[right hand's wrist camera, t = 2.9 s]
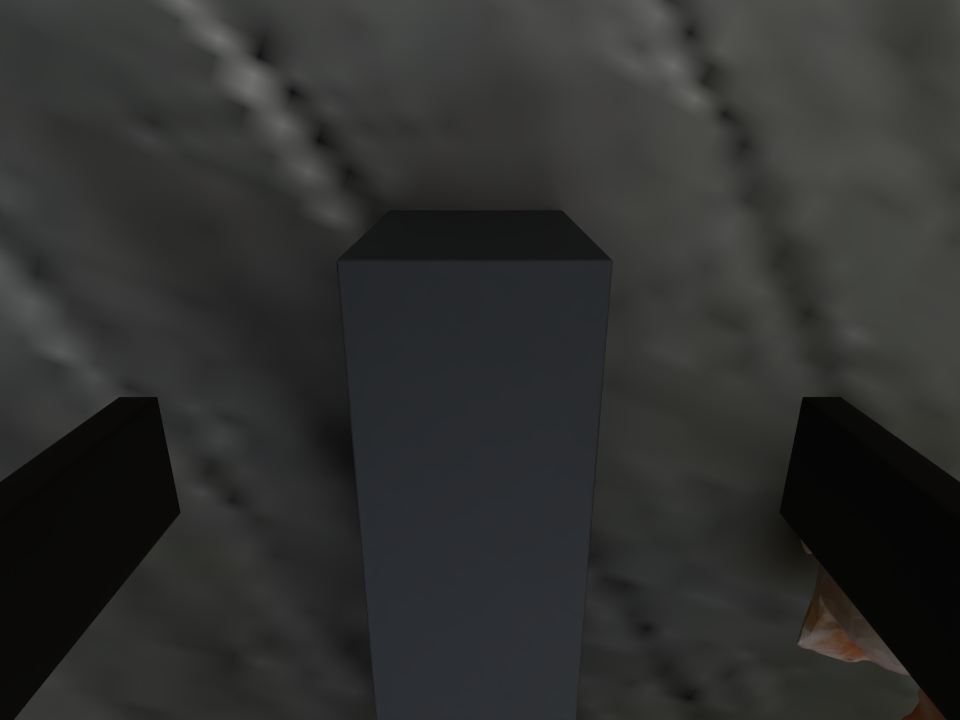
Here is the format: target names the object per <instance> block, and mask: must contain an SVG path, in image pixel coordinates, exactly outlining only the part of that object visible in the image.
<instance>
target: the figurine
mask: <svg viewBox="0 0 960 720" xmlns="http://www.w3.org/2000/svg"><path fill="white" fill-rule="evenodd" d="M801 542H802V545H803V548H804V550H805V552H806V553H808V554H812V552H811V551H810V550H809V549H808V547H807V546H806V545H805V544H804V542H803V541H802V540H801ZM798 646H800V647H803V648H806V649H811V650H814V651H815V652H817V653H820V654H824V655H827V656H830V657H833V658H836V659H840V660H843V661H846V662H857V661H861V660H870V661H873V662H876V663H877V664H879V665H880V666H882V667H884V668H885V669H888V670H891V671H894V672H897V673H900V674H903V675H910V674H909V673H908V672H907V670H906V669H905V668H904V667H903V665H902V664H901V663H900V662H899V660H898V659H897V658H896V657H895V655H894V654H893V653H892V652H891V650H890V649H889V648H888V647H887V645H886V644H885V643H884V642H883V641H882V639H881V638H880V637H879V636H878V634H877V633H876V632H875V631H874V629H873V628H872V627H871V626H870V624H869V623H868V622H867V621H866V619H865V618H864V617H863V616H862V614H861V613H860V612H859V611H858V609H857V608H856V607H855V606H854V604H853V603H852V602H851V601H850V600H849V598H848V597H847V596H846V595H845V593H844V592H843V591H842V590H841V588H840V587H839V586H838V585H837V583H836V582H835V581H834V580H833V578H832V577H831V576H830V575H829V573H828V572H827V571H826V570H825V568H824V567H823V566H822V565H821V563H820V564H819V569H818V575H817V581H816V587H815V591H814V594H813V597H812V600H811V602H810V605H809V608H808V611H807V614H806V616H805V619H804V622H803V625H802V627H801V631H800V634H799V638H798ZM910 676H911V675H910ZM918 696H919V704H918V705H917V706H916V708H915V709H914V711H913V712H912V713H911V714H909V715H907V716H905V717H904V718H903V719H902V720H946V719H945V718H944V716H943V715H942V714H941V713H940V711H939V710H938V709H937V708H936V706H935V705H934V704H933V703H932V701H931V700H930V699H929V698H928V696H927V695H926V694H925V693H924V691H923V690H922V689H921V688H920V689H919V691H918Z"/></svg>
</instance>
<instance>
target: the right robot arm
mask: <svg viewBox="0 0 960 720" xmlns="http://www.w3.org/2000/svg"><path fill="white" fill-rule="evenodd" d="M179 514H180V508H179V503H178V498H177V493H176V488H175V483H174V478H173V473H172V468H171V463H170V458H169V453H168V448H167V444H166V439H165V434H164V429H163V424H162V419H161V414H160V409H159V404H158V399H157V397H119V398H118V399H116V400H115V401H113V402H112V403H111V404H109V405H108V406H106V407H105V408H104V409H102V410H101V411H99V412H98V413H96V414H95V415H94V416H92V417H91V418H89V419H88V420H87V421H85V422H84V423H82V424H81V425H80V426H78V427H77V428H75V429H74V430H73V431H71V432H70V433H68V434H67V435H66V436H64V437H63V438H61V439H60V440H59V441H57V442H56V443H54V444H53V445H52V446H50V447H49V448H47V449H46V450H45V451H43V452H42V453H40V454H39V455H38V456H36V457H35V458H33V459H32V460H30V461H29V462H28V463H26V464H25V465H23V466H22V467H21V468H19V469H18V470H16V471H15V472H14V473H12V474H11V475H9V476H8V477H7V478H5V479H4V480H2V481H1V482H0V720H14V719H15V718H16V716H17V715H18V714H19V713H20V711H21V710H22V709H23V708H24V706H25V705H26V704H27V703H28V701H29V700H30V699H31V698H32V696H33V695H34V694H35V693H36V691H37V690H38V689H39V688H40V686H41V685H42V684H43V683H44V682H45V680H46V679H47V678H48V677H49V675H50V674H51V673H52V672H53V670H54V669H55V668H56V667H57V665H58V664H59V663H60V662H61V660H62V659H63V658H64V657H65V655H66V654H67V653H68V652H69V650H70V649H71V648H72V647H73V645H74V644H75V643H76V642H77V641H78V639H79V638H80V637H81V636H82V634H83V633H84V632H85V631H86V629H87V628H88V627H89V626H90V624H91V623H92V622H93V621H94V619H95V618H96V617H97V616H98V614H99V613H100V612H101V611H102V609H103V608H104V607H105V606H106V604H107V603H108V602H109V601H110V600H111V598H112V597H113V596H114V595H115V593H116V592H117V591H118V590H119V588H120V587H121V586H122V585H123V583H124V582H125V581H126V580H127V578H128V577H129V576H130V575H131V573H132V572H133V571H134V570H135V568H136V567H137V566H138V565H139V563H140V562H141V561H142V560H143V559H144V557H145V556H146V555H147V554H148V552H149V551H150V550H151V549H152V547H153V546H154V545H155V544H156V542H157V541H158V540H159V539H160V537H161V536H162V535H163V534H164V532H165V531H166V530H167V529H168V527H169V526H170V525H171V524H172V522H173V521H174V520H175V519H176V518H177V516H178V515H179ZM780 514H781V515H782V516H783V518H784V519H785V520H786V521H787V522H788V524H789V525H790V526H791V527H792V529H793V530H794V531H795V532H796V534H797V535H798V536H799V537H800V539H801V540H802V541H803V542H804V544H805V545H806V546H807V547H808V549H809V550H810V551H811V552H812V554H813V555H814V556H815V557H816V559H817V560H818V561H819V562H820V563H821V565H822V566H823V567H824V568H825V570H826V571H827V572H828V573H829V575H830V576H831V577H832V578H833V580H834V581H835V582H836V583H837V585H838V586H839V587H840V588H841V590H842V591H843V592H844V593H845V595H846V596H847V597H848V598H849V600H850V601H851V602H852V603H853V604H854V606H855V607H856V608H857V609H858V611H859V612H860V613H861V614H862V616H863V617H864V618H865V619H866V621H867V622H868V623H869V624H870V626H871V627H872V628H873V629H874V631H875V632H876V633H877V634H878V636H879V637H880V638H881V639H882V641H883V642H884V643H885V644H886V645H887V647H888V648H889V649H890V650H891V652H892V653H893V654H894V655H895V657H896V658H897V659H898V660H899V662H900V663H901V664H902V665H903V667H904V668H905V669H906V670H907V672H908V673H909V674H910V675H911V677H912V678H913V679H914V680H915V682H916V683H917V684H918V685H919V686H920V688H921V689H922V690H923V691H924V693H925V694H926V695H927V696H928V698H929V699H930V700H931V701H932V703H933V704H934V705H935V706H936V708H937V709H938V710H939V711H940V713H941V714H942V715H943V716H944V718H945V719H946V720H960V482H959V481H958V480H956V479H955V478H953V477H952V476H951V475H949V474H948V473H946V472H945V471H944V470H942V469H941V468H939V467H938V466H937V465H935V464H934V463H932V462H931V461H930V460H928V459H927V458H925V457H924V456H922V455H921V454H920V453H918V452H917V451H915V450H914V449H913V448H911V447H910V446H908V445H907V444H906V443H904V442H903V441H901V440H900V439H899V438H897V437H896V436H894V435H893V434H892V433H890V432H889V431H887V430H886V429H885V428H883V427H882V426H880V425H879V424H878V423H876V422H875V421H873V420H872V419H871V418H869V417H868V416H866V415H865V414H864V413H862V412H861V411H859V410H858V409H856V408H855V407H854V406H852V405H851V404H849V403H848V402H847V401H845V400H844V399H842V398H841V397H803V399H802V404H801V409H800V414H799V419H798V424H797V429H796V434H795V439H794V443H793V448H792V453H791V458H790V463H789V468H788V473H787V478H786V483H785V488H784V493H783V498H782V503H781V508H780Z"/></svg>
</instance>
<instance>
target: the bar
mask: <svg viewBox="0 0 960 720" xmlns="http://www.w3.org/2000/svg"><path fill="white" fill-rule="evenodd" d="M337 271H338V283H339V294H340V306H341V317H342V329H343V341H344V352H345V364H346V375H347V387H348V398H349V410H350V421H351V433H352V444H353V456H354V467H355V479H356V490H357V502H358V513H359V525H360V536H361V548H362V560H363V571H364V583H365V594H366V606H367V617H368V629H369V640H370V652H371V663H372V675H373V686H374V698H375V709H376V720H576V710H577V697H578V685H579V672H580V660H581V648H582V635H583V623H584V610H585V598H586V585H587V573H588V560H589V548H590V535H591V523H592V511H593V498H594V486H595V473H596V461H597V448H598V436H599V423H600V411H601V398H602V386H603V373H604V361H605V349H606V336H607V324H608V311H609V299H610V286H611V274H612V260H611V259H610V258H609V257H608V256H607V255H606V254H605V253H604V252H603V251H602V250H601V249H600V248H599V247H598V246H597V245H596V244H595V243H594V242H593V241H592V240H591V239H590V238H589V237H588V236H587V235H586V234H585V233H584V232H583V231H582V230H581V229H580V228H579V227H578V226H577V225H576V224H575V223H574V222H573V221H572V220H571V219H570V218H569V217H568V216H567V215H566V214H565V213H564V212H563V211H389V212H388V213H387V214H386V215H385V216H384V217H383V218H382V219H381V220H379V221H378V222H377V223H376V224H375V225H374V226H373V227H372V228H371V229H370V230H369V231H368V232H367V233H366V234H365V235H364V236H362V237H361V238H360V239H359V240H358V241H357V242H356V243H355V244H354V245H353V246H352V247H351V248H350V249H349V250H348V251H346V252H345V253H344V254H343V255H342V256H341V257H340V258H339V259H338V260H337Z"/></svg>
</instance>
